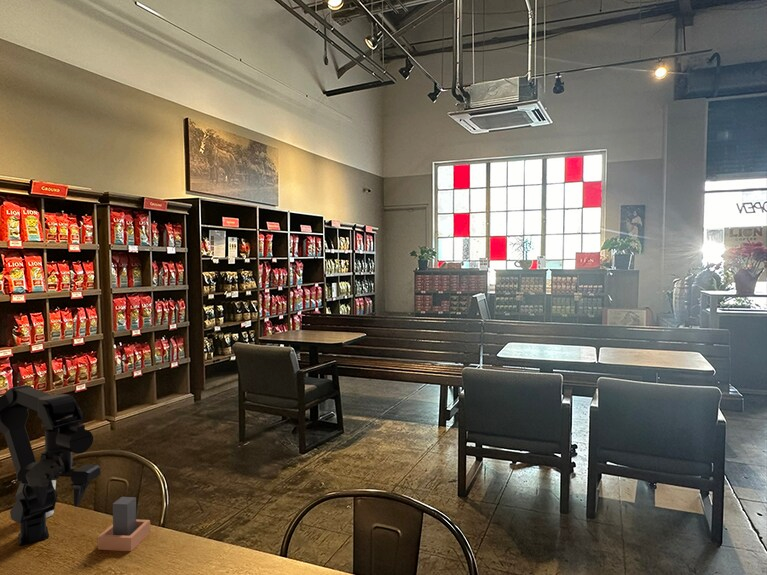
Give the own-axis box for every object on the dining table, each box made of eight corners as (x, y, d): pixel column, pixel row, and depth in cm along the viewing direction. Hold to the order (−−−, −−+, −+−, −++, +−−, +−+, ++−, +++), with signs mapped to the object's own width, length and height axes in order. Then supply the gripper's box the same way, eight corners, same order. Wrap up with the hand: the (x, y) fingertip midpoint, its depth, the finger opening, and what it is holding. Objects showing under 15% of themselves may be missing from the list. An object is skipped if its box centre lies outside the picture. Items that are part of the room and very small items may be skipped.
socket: (98, 549, 127) (97, 536, 127) (119, 530, 136) (119, 518, 136) (131, 551, 126) (131, 538, 126) (150, 532, 135) (150, 520, 135)
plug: (113, 544, 129) (112, 503, 129) (122, 536, 133) (121, 496, 133) (127, 545, 129) (127, 504, 128) (136, 536, 133) (135, 497, 132)
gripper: (-3, 456, 118) (-2, 519, 118) (71, 459, 116) (72, 523, 117) (33, 440, 129) (34, 498, 129) (101, 442, 127) (102, 501, 128)
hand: (59, 505), depth 126 cm, fingers open, 9 cm apart
